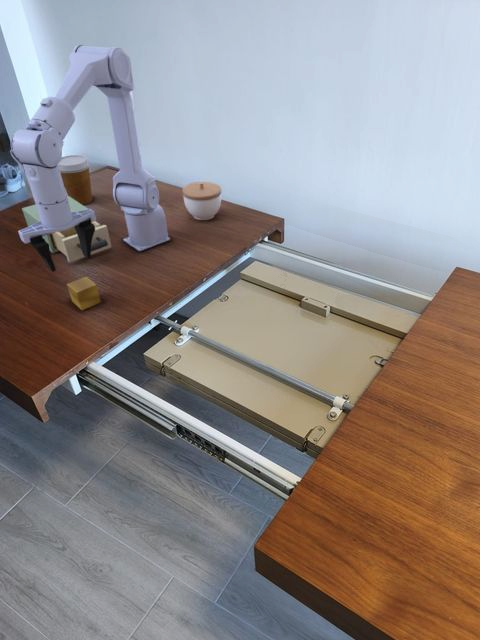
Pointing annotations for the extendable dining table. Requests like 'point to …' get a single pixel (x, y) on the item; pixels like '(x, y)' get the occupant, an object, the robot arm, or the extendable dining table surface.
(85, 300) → the block
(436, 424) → the extendable dining table surface
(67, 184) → the disposable coffee cup
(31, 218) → the cabinet
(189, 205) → the trinket box
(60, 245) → the drawer
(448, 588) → the extendable dining table surface
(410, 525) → the extendable dining table surface
